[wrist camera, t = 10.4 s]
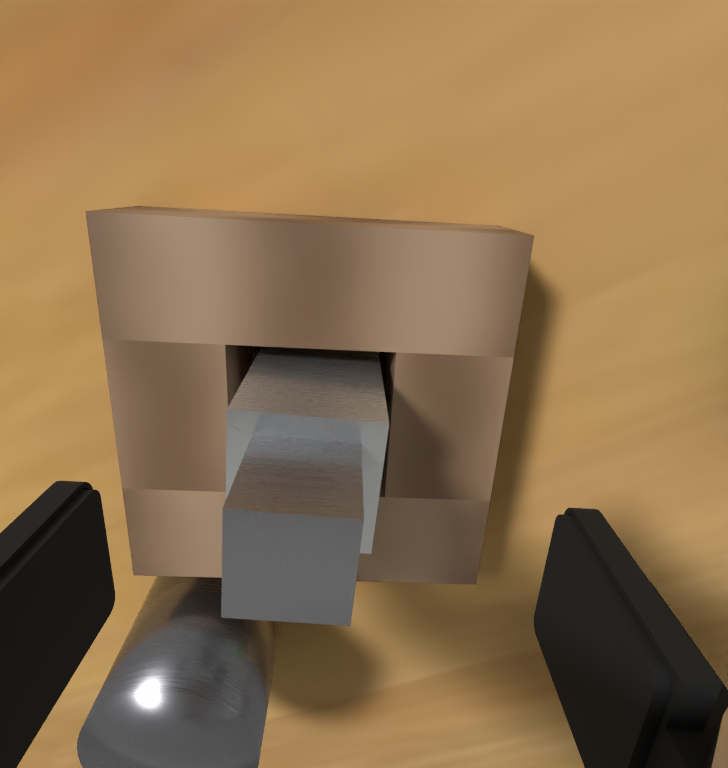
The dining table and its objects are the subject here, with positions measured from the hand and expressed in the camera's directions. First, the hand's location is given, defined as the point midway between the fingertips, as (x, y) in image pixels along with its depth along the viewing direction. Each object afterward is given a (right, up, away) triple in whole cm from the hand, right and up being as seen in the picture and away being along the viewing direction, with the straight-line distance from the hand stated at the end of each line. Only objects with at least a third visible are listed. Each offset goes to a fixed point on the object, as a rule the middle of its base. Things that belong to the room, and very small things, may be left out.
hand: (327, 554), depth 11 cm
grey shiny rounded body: (-6, -6, +12) cm, 15 cm away
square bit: (-1, +3, +9) cm, 9 cm away
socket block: (-1, +3, +9) cm, 9 cm away
